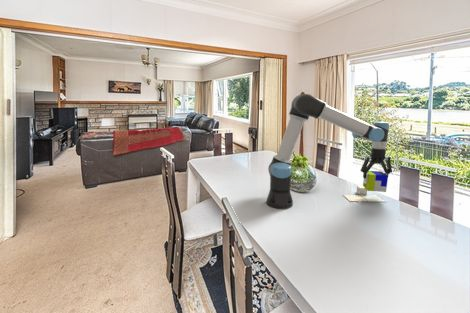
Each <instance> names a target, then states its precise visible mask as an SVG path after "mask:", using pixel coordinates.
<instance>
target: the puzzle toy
mask: <svg viewBox="0 0 470 313" xmlns="http://www.w3.org/2000/svg"><path fill="white" fill-rule="evenodd" d="M367 173H368V181H367V184H365V183H364V180H362V181H363V182H362V186H364V187H365V188H366V189H367V192H377V193H378V192H380V193H381V192H382V193H387V187H388V179H389V174H388V175H386V174H385V172H383V171H380V170H379V171H378V170H369V171H368V172H367Z"/></svg>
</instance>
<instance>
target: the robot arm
mask: <svg viewBox="0 0 470 313" xmlns="http://www.w3.org/2000/svg"><path fill="white" fill-rule="evenodd" d="M290 106H291V107H290V111H289V113H288V115H289V120H288V123H287V126H286V129H285V132H284V134H283V137H282V140H281V142H280V145H279V147H278V151H277V153H276V154H275V155H273V157H272V160H271V162H270V164H269V165H268V173H269V176H270V177H269V180H270V181H269V182H270V183H269V184H270V185H269V192H268V194H267V197H266V205H267V206H268V207H271V208H274V209H289V208H291V207H293V204H294V200H293V197H292V193H291V184H292V174H293V173H292V172H293V171H292V166H291V165H292V160H291V159H292V158H291V157H292V155H293V152H294V150H295V148H296V145H297V142H298V139H299V137H300V134H301V133H302V132H301V131H302V130H303V126H304V125H305V122H307V121H308V120H309V118H314V119H316V120H318V119H321V120H324V121H325V122H327V123H330V124H332V125H334V126H337V127H339V128H341V129H343V130H345V131H348V132H351V136H352V137H353V138H355V139H364V140H367V141H370V142H371V143H372V144H371V147H372V148H371V152H370V154H371V155H370V156H367V155H366V156H365V159H364V161H363V164H362V166H361V168H360V170H359V171H360V172H361V173H363V174H362V175H363V176H362V178H363V181H364V183H365V184H367V181H368V173H367V172H368V171H371V169H372V167H373V166H374V165H375V164H379V165H380V166H381V167H382V169H383V171H384V173H385V174H386V175H388V176H389V175H390V174H391V173H392V174H393V168H392V163H391V156H386V155H387V154H386V152H387V149H386V148H387V143H388V138H389V137H388V136H389V130H390V129H389V128H390V124H389V122H387V121H375V122H374V124H369V123H367V122H365V121H363V120H360V119H359V118H356V117H354V116H351V115H349V114H347V113H345V112H342V111H340V110H338V109H336V108H334V107H332V106H330V105H328V104H327V103H326V102H325V101H323V100H321V99H319V98H317V97H316V96H314V95H312V94H308V93H303V94H299V95H297V96H296V97H294V98H293V100H292V102H291V105H290Z"/></svg>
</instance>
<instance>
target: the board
mask: <svg viewBox="0 0 470 313" xmlns="http://www.w3.org/2000/svg"><path fill="white" fill-rule="evenodd" d="M342 197H344V198H345V199H346V200H348V202H350V203H353V202H354V203H387V201H386V200H384V199H383V198H381V197H380V196H379V195H375V194H374V195H370V194H367V195H359V194H352V195H351V194H343V195H342Z"/></svg>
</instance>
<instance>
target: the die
mask: <svg viewBox="0 0 470 313" xmlns="http://www.w3.org/2000/svg"><path fill="white" fill-rule="evenodd" d="M356 193H357V195H368V190H367V189H366V188H365V187H364V186H363V185H356Z"/></svg>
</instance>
